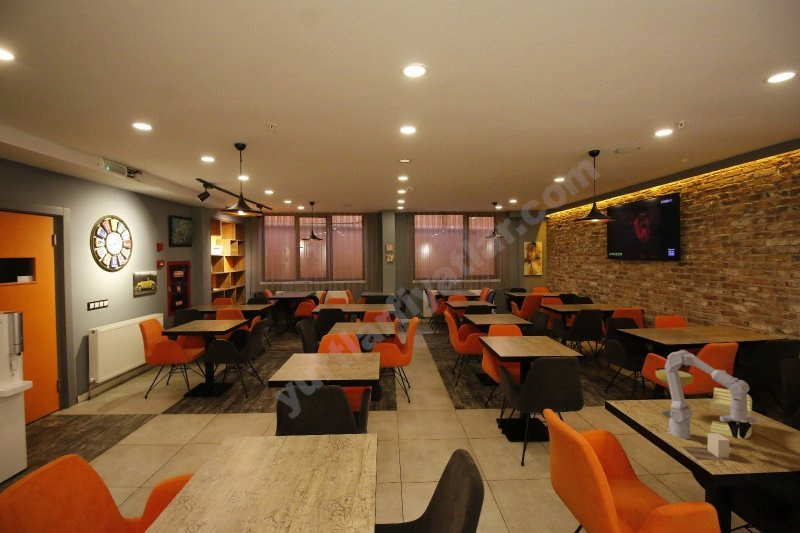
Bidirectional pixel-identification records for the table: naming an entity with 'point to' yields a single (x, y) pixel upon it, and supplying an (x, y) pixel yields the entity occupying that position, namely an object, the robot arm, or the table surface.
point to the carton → (718, 445)
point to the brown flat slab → (704, 454)
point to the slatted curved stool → (724, 404)
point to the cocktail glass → (684, 378)
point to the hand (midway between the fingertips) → (738, 437)
